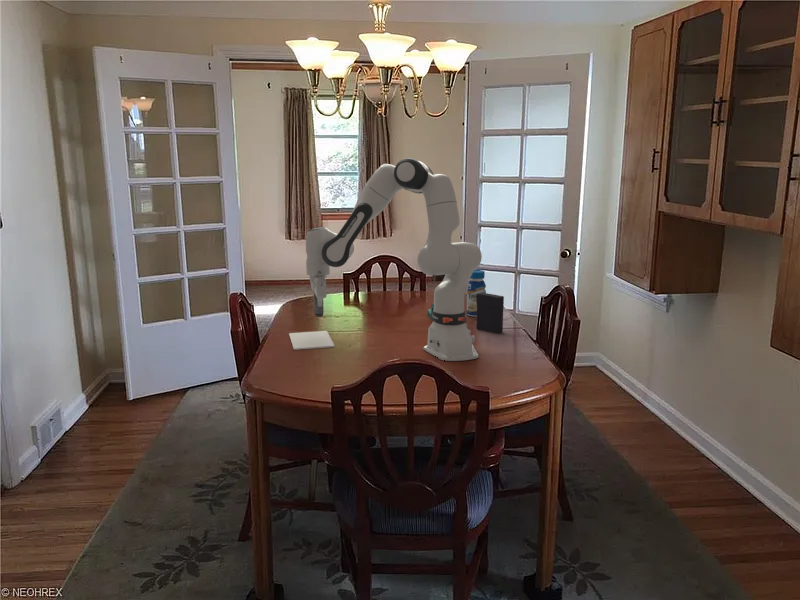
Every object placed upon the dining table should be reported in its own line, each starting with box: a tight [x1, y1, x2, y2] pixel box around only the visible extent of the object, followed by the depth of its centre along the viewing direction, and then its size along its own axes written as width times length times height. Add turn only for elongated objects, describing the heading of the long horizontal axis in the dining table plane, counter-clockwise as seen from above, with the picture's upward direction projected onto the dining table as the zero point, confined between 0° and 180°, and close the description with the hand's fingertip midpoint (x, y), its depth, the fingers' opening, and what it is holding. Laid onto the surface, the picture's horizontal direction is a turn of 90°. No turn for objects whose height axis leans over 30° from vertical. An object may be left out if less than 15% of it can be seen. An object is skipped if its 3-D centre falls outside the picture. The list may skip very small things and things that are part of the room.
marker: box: [313, 286, 325, 318], centre depth 247 cm, size 4×4×12 cm
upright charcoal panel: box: [475, 292, 505, 335], centre depth 258 cm, size 11×4×15 cm, turn 47°
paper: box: [288, 330, 336, 351], centre depth 245 cm, size 21×15×1 cm
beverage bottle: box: [466, 269, 487, 318], centre depth 283 cm, size 8×8×20 cm
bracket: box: [427, 303, 434, 320], centre depth 279 cm, size 18×7×8 cm, turn 8°
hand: (319, 304), depth 248 cm, fingers closed on marker, 4 cm apart
